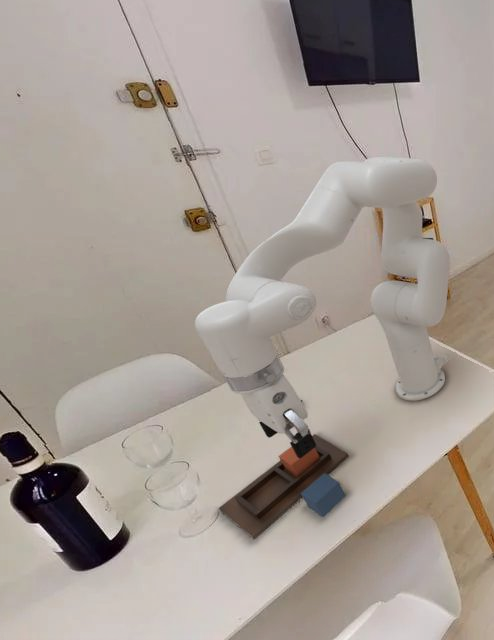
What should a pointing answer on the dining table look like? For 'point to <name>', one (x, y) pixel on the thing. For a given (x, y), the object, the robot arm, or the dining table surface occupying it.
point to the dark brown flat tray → (278, 490)
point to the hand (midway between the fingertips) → (291, 441)
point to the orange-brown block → (298, 461)
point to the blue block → (323, 494)
